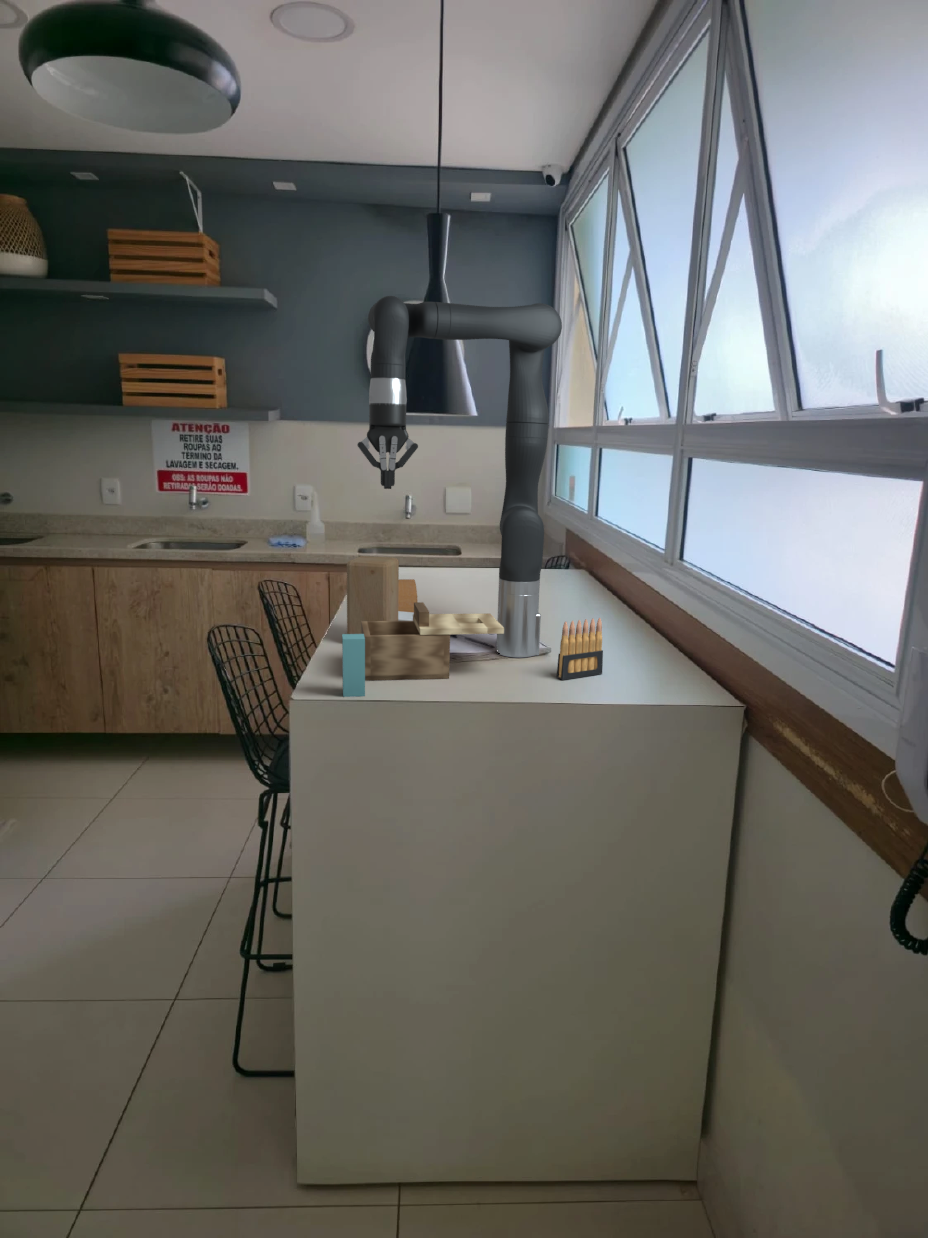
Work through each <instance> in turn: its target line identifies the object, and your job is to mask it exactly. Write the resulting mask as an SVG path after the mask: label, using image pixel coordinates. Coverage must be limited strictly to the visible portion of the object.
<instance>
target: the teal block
mask: <svg viewBox="0 0 928 1238" xmlns="http://www.w3.org/2000/svg"><path fill="white" fill-rule="evenodd" d="M341 636H342V637H341V639H342V640H341V642H342V643H341V644H342V645H341V647H342V649H341V651H342V653H341V657H342V659H341V661H342V696H343V698H346V697H347V698H349V697H350V698H351V697H365V696H366V681H365V637H364V634H347V633H342V634H341Z"/></svg>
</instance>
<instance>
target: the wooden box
mask: <svg viewBox="0 0 928 1238" xmlns="http://www.w3.org/2000/svg"><path fill="white" fill-rule="evenodd" d="M361 634H364V637H365V682H367V681H369V682H370V681H371V682H372V681H373V682H374V681H403V680H404V681H407V680H409V681H410V680H443V679H444V680H445V679H446V680H447V679H448V680H449V679H450V657H451V656H450V655H451V654H450V651H451V634H445V635H420V633H419V631H418V629H417V627H416V625H415V623H414V621H361Z"/></svg>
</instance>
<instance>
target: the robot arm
mask: <svg viewBox="0 0 928 1238" xmlns="http://www.w3.org/2000/svg"><path fill="white" fill-rule="evenodd" d="M367 317H368V318H367V320H368V321H367V322H368V325H369V327H370V330H372V331H373V333H374V334H373V349H372V352H371V354H370V355H371V356H370V383H369V388H368V389H369V390H368V393H369V394H368V395H369V396H368V400H369V401H368V403H369V404H368V410H369V415H368V417H369V421H368V423H369V425H368V426H369V427H368V430H367V432H366V437H364V439H362V440H360V441H359V442H357V448H358V449H359V450H360V451H361V453H362V454H363V455H364V457H365V459H366V460H367V461H368V462H369V463H370V465H371V466H372V467H373V468H376V469H379V470H380V471H379V472H380V485H381V487H383V489H385V490H387V489H388V490H392V487H395V485H396V482H395V479H396V478H395V476H396V475H395V474H396V472H395V471H396V470H397V469H400V468H403V467H404V466H405V464H406V463H407V462H408V461H409V459H410V458H412V456H413V454H414V453H416V450H417V449H418V448H419V445H418V443H416V442H414V441H413V440H411V439H410V437H409V433H408V431H407V402H408V401H407V400H408V398H407V385H406V352H407V351H406V350H407V344H408V338H424V339H435V340H448V341H449V340H450V341H451V340H452V341H466V340H491V339H492V340H503V341H504V340H505V341H508V347H509V350H508V351H509V385H508V395H507V406H506V407H507V411H506V420H505V422H506V423H505V435H504V436H505V437H504V440H505V441H504V446H505V447H504V463H505V465H504V467H505V488H504V489H505V490H504V498H503V504H502V509H501V510H502V511H501V515H500V520H499V532H500V536H501V549H500V551H501V552H500V562H499V569H498V592H497V593H498V594H497V596H498V597H497V598H498V599H497V619H496V620H497V621H498V622H499V623H500V624H501V625H502V626H503V627H504V634H496V643H495V644H496V647H495V648H496V649H497V650H498V652H499V653H500V654H499V655H500V656H504V657H509V658H530V657H533V656H539V655H540V641H541V624H542V623H541V620H542V619H541V618H542V615H541V613H540V612H539V607H540V585H541V584H540V581H541V572H542V571H541V570H542V566H543V557H544V543H545V525H544V521H543V519H542V517H541V516H540V514H539V503H538V502H539V497H538V496H539V495H538V493H539V492H538V491H539V482H540V477H541V474H542V473H541V472H542V469H543V466H544V462H545V457H546V452H547V448H548V447H547V446H548V437H549V436H548V435H549V422H550V418H549V417H550V415H549V407H548V406H549V405H548V403H547V398H546V394H545V389H544V385H543V365H544V364H543V363H544V354H545V349H547V348H550V347H551V346H553V345H554V344H555V343H556V342H557V341H558V340H559V338H560V337H561V333H562V329H563V323H562V319H561V315H560V314H559V313H558V311H557V310H556V309H555V308H554V307H552V306H551V305H549V304H546V303H540V302H539V303H533V304H528V305H527V304H525V305H517V306H516V305H515V306H486V305H485V306H484V305H475V304H474V305H471V304H465V303H464V304H463V303H453V302H442V301H441V302H439V301H423V302H419V303H409V302H408V303H407V302H404V301H403V300H402V299H401V298H399V297H398V296H396V295H387V296H384V297H381V298H380V299H379V300H378V301H376V302H375V303H374V304H373V305H372V306H371V308H370V309H369V312H368V316H367ZM369 443H370V444H371V445H372V447H373V448H374V450H375V451H376V452H378V457H379V461H377V460H376V458H375V457H374V456H373V454H372V453H371V451H370V450H369V449H370V447H371V446H370V444H369ZM404 445H405V450H406V451H405V452H404V453H403V455H402V456H401V457H400V458H399V460H397V453H399V452H400V451H401V449H402V448H403V447H404ZM387 453H388V463H387Z"/></svg>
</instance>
